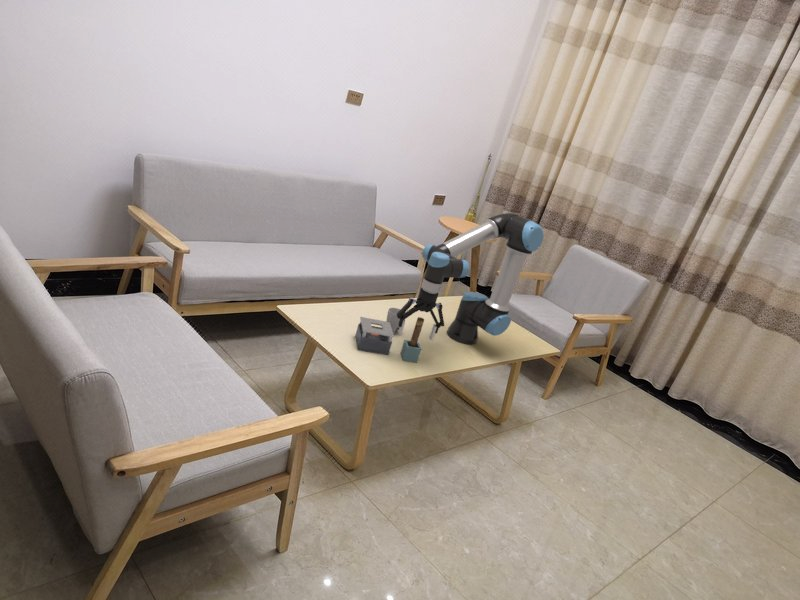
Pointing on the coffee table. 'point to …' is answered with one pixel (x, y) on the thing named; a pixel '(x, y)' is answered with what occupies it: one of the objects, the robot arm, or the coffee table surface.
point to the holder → (410, 352)
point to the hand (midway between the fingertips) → (415, 336)
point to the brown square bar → (416, 332)
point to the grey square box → (374, 336)
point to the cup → (393, 319)
